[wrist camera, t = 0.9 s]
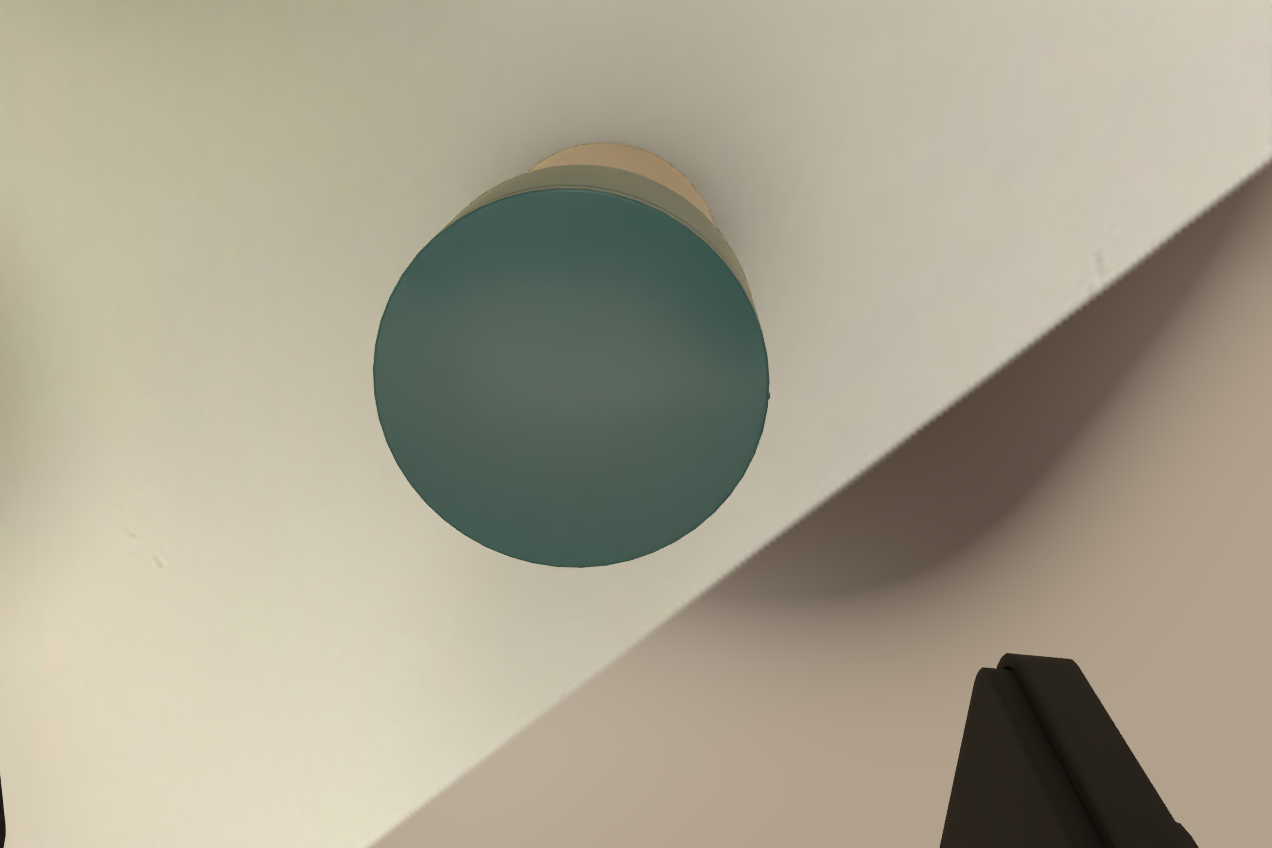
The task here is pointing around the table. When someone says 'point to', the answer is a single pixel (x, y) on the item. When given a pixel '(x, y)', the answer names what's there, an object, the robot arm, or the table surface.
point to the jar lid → (573, 368)
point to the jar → (629, 167)
